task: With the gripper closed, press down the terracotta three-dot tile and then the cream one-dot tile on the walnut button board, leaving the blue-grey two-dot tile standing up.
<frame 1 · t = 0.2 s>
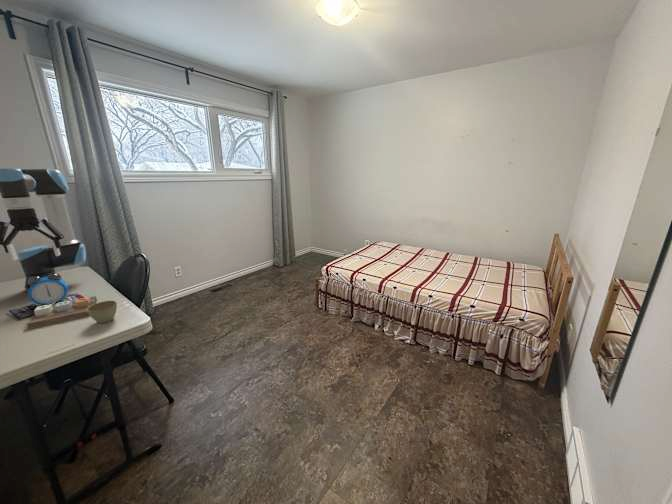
hand: (37, 257, 115), 28 cm above the table, fingers open, 13 cm apart
alarm clock: (53, 303, 135), on the table
beige bowl: (106, 320, 118), on the table
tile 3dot: (83, 302, 127), point 4 cm above the table, slide at 0.0 cm
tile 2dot: (64, 305, 124), point 4 cm above the table, slide at 0.0 cm
board: (66, 313, 125), on the table
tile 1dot: (43, 310, 120), point 4 cm above the table, slide at 0.0 cm
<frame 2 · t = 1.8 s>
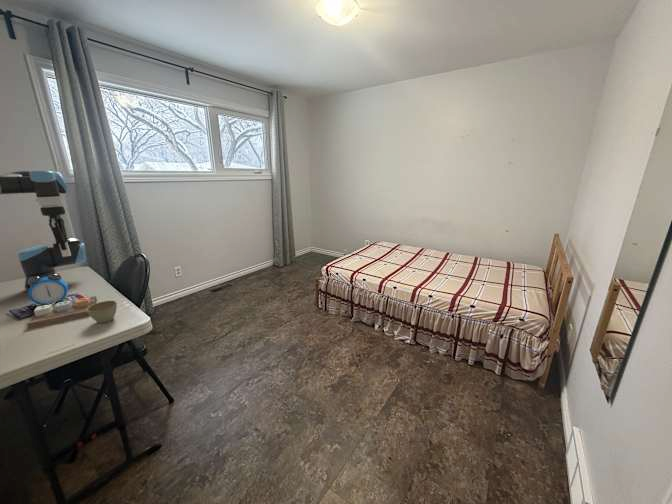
hand: (66, 256, 128), 25 cm above the table, fingers closed
nothing on the table moved.
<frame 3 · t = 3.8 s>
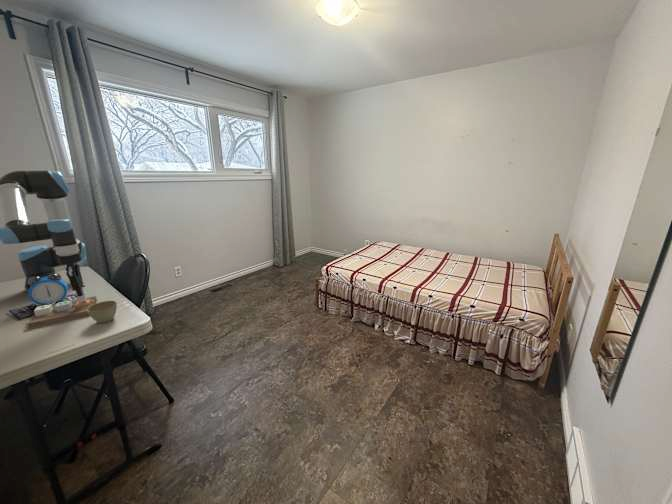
hand: (82, 301, 127), 4 cm above the table, fingers closed
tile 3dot: (83, 304, 128), point 2 cm above the table, slide at 1.3 cm, touching gripper
everything else where it was.
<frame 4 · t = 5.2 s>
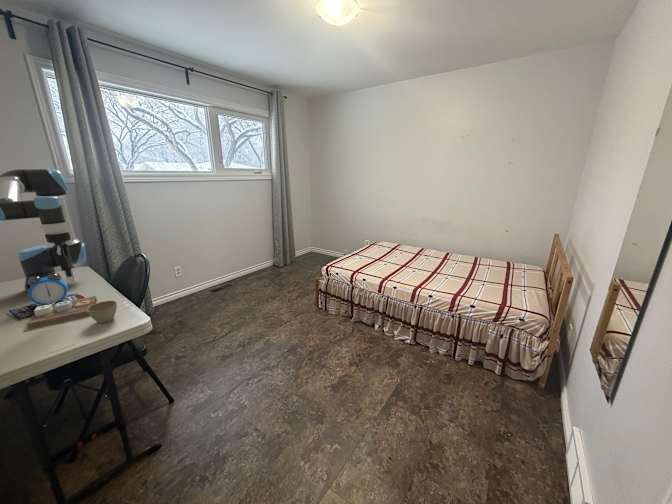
hand: (72, 282, 124), 14 cm above the table, fingers closed
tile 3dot: (84, 305, 128), point 2 cm above the table, slide at 1.6 cm
everything else where it was.
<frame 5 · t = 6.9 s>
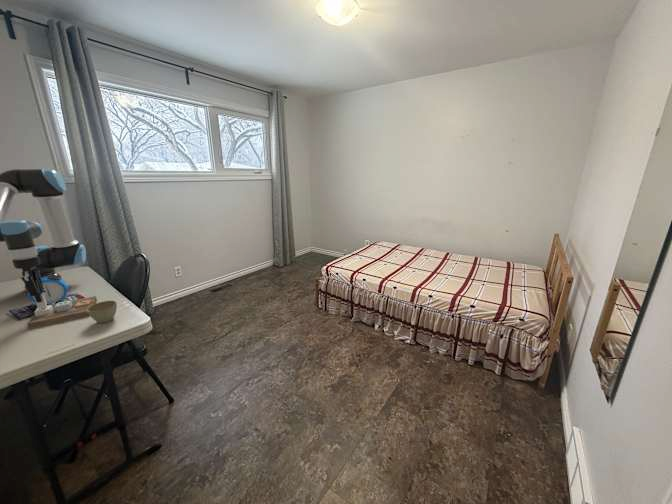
hand: (42, 307, 120), 5 cm above the table, fingers closed
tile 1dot: (44, 311, 120), point 3 cm above the table, slide at 0.5 cm, touching gripper
everything else where it was.
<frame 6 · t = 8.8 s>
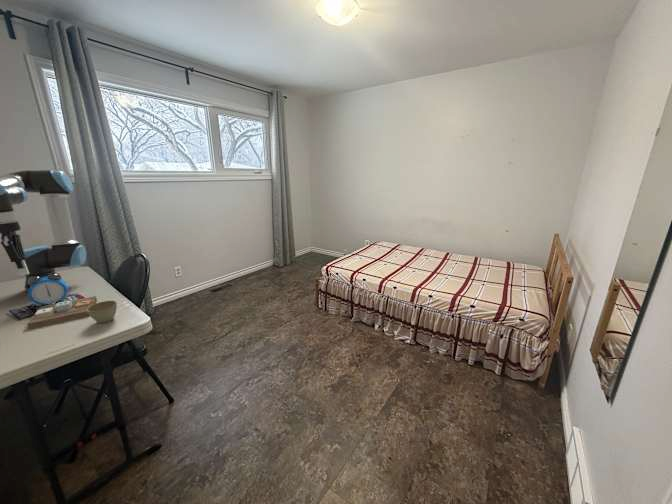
hand: (24, 274, 118), 20 cm above the table, fingers closed
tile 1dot: (45, 313, 121), point 2 cm above the table, slide at 1.6 cm
everything else where it was.
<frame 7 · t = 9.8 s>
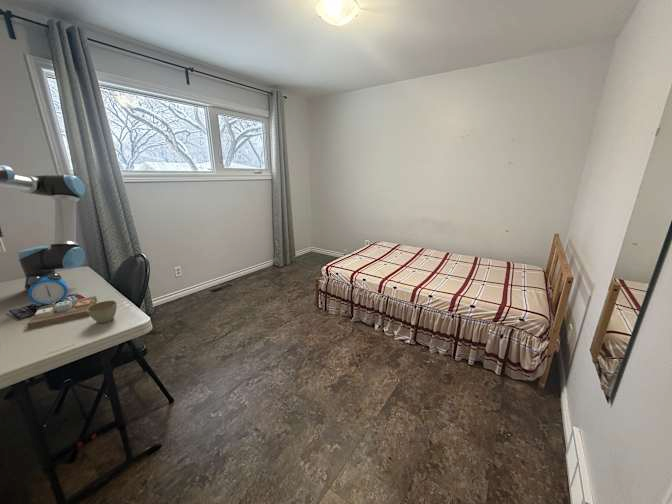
hand: (0, 252, 118), 29 cm above the table, fingers closed
nothing on the table moved.
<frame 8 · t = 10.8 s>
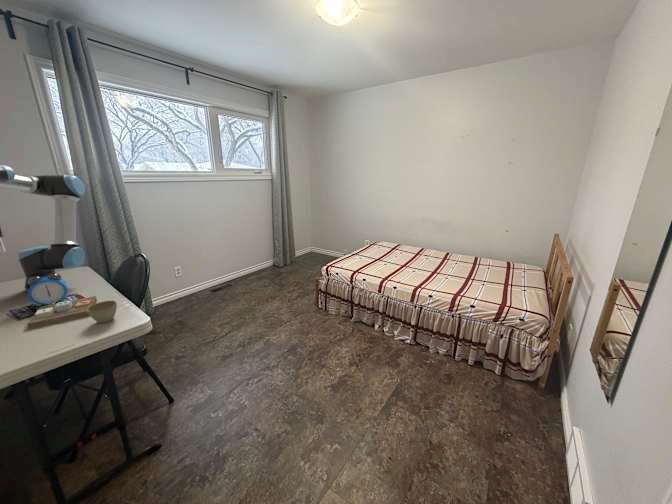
hand: (0, 252, 118), 29 cm above the table, fingers closed
nothing on the table moved.
at the end: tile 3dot slide at 1.6 cm; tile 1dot slide at 1.6 cm; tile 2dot slide at 0.0 cm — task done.
